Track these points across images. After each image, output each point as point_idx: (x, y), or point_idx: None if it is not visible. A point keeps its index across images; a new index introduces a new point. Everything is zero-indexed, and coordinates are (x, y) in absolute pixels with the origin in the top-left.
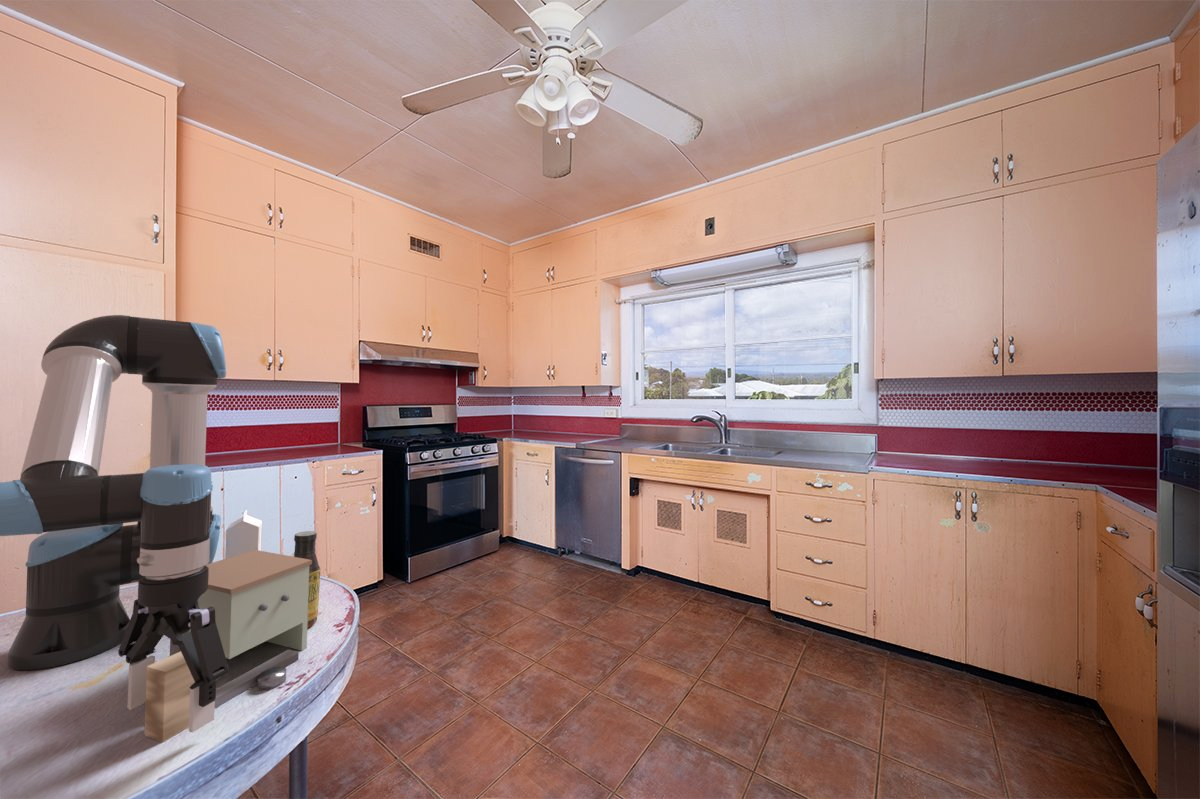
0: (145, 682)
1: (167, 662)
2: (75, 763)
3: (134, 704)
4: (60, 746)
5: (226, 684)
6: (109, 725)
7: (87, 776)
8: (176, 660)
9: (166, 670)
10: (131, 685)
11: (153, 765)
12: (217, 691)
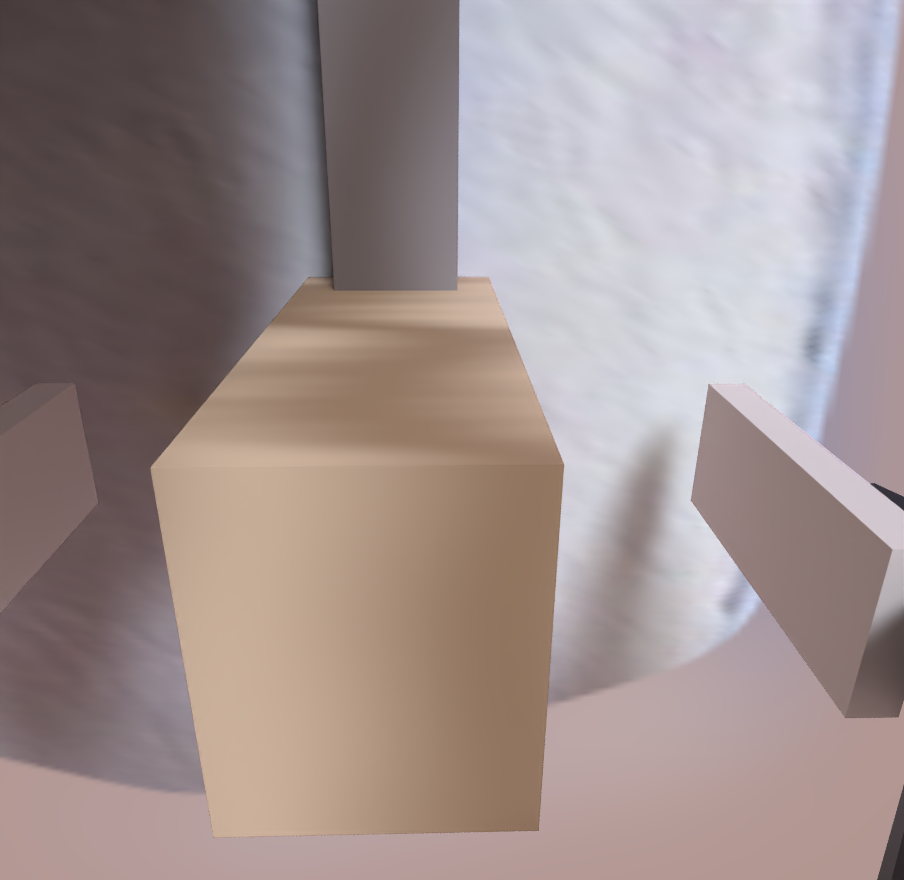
0: (6, 503)
1: (331, 732)
2: None
3: (81, 494)
4: (32, 648)
5: (334, 2)
6: None
7: None
8: (387, 682)
9: (518, 813)
10: (6, 601)
11: (616, 576)
12: (371, 108)
